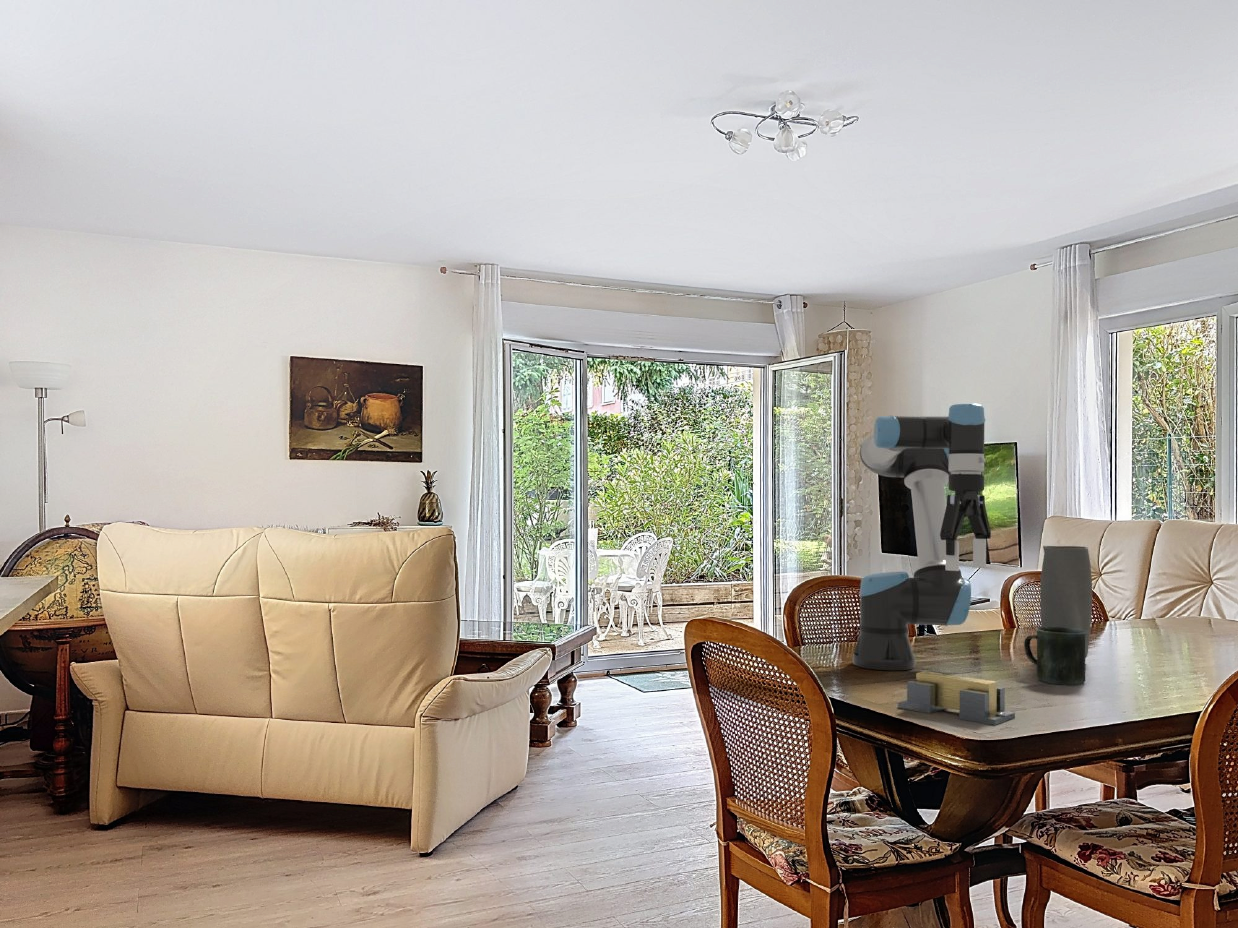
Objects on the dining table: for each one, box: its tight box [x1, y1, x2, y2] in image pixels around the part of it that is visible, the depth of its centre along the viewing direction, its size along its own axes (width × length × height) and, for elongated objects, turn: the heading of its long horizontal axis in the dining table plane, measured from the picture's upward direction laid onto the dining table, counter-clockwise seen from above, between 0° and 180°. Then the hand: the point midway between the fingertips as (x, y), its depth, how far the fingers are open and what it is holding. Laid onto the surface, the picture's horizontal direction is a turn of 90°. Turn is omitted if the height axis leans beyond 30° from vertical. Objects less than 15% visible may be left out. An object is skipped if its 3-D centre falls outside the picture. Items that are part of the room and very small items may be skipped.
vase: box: [1039, 545, 1093, 659], centre depth 254 cm, size 12×12×30 cm
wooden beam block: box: [915, 670, 998, 715], centre depth 194 cm, size 15×4×6 cm, turn 45°
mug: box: [1023, 626, 1087, 686], centre depth 229 cm, size 11×15×12 cm
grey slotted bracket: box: [897, 680, 947, 715], centre depth 198 cm, size 7×9×6 cm
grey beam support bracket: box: [958, 686, 1016, 726], centre depth 189 cm, size 7×9×6 cm
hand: (966, 569), depth 217 cm, fingers open, 13 cm apart
